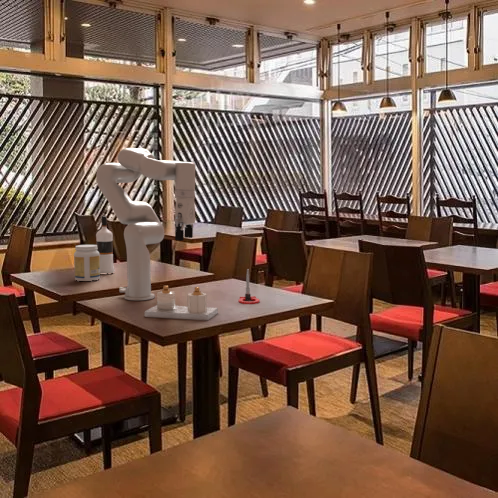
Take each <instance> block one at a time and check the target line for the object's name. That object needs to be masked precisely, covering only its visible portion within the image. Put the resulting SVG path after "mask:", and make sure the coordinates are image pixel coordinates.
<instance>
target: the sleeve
mask: <svg viewBox="0 0 498 498" xmlns="http://www.w3.org/2000/svg"><path fill="white" fill-rule="evenodd" d="M187 306H188V311H189V312H205V311H207V307H208V294H207V293H205V292H201V295H193V292H190V293H187Z"/></svg>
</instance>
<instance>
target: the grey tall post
mask: <svg viewBox="0 0 498 498" xmlns="http://www.w3.org/2000/svg"><path fill="white" fill-rule="evenodd" d="M245 283H246V284H245V285H246V287H245V293H244V296H239V299H238V303H240V304H243V305H256V304H258V303H260V299H259V298H257V296H256V295H255V296H253V295H252V294H251V292H250V291H251V287H250V270H249V268H247V269H246V282H245ZM251 295H252V296H251Z"/></svg>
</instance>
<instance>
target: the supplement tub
mask: <svg viewBox="0 0 498 498" xmlns="http://www.w3.org/2000/svg"><path fill="white" fill-rule="evenodd" d="M97 249H98V248H97V244H78V245H75V251H74V253H73V260H74V261H73V262H74V263H73V265H74V266H73V267H74V280H75V281H76V280H77V281H76V282H79V281H91V280H97V279H99V280H100V278H101V275H100V256H99V255H100V254H99V252H98V251H97ZM97 281H98V280H97ZM91 282H92V281H91Z"/></svg>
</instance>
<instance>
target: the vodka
mask: <svg viewBox="0 0 498 498" xmlns="http://www.w3.org/2000/svg"><path fill="white" fill-rule="evenodd" d="M100 217H101V229H99V230H97V232H96V234H95V238H96V245H97V248H98V249H97V251H98V252H99V254H100V255H99V256H100V273H113V272H114V273H115V267H114V254H113V253H114V252H113V249H114V247H113V241H114V239H113V238H114V237H113V232H112V231H111V230H110V229H108V228H107V227H108V225H107V224H108V223H107V222H108V221H107V218H108V217H107V215H106V216H105V215H101V216H100ZM114 273H113V274H114Z"/></svg>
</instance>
